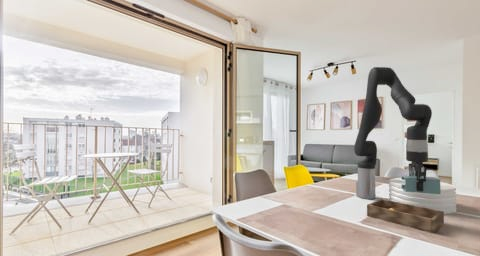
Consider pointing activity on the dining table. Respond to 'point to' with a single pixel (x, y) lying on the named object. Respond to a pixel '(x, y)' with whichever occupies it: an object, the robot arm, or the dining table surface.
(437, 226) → the tray
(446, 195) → the plate stack
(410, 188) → the teal open box
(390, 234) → the dining table surface
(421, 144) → the robot arm
